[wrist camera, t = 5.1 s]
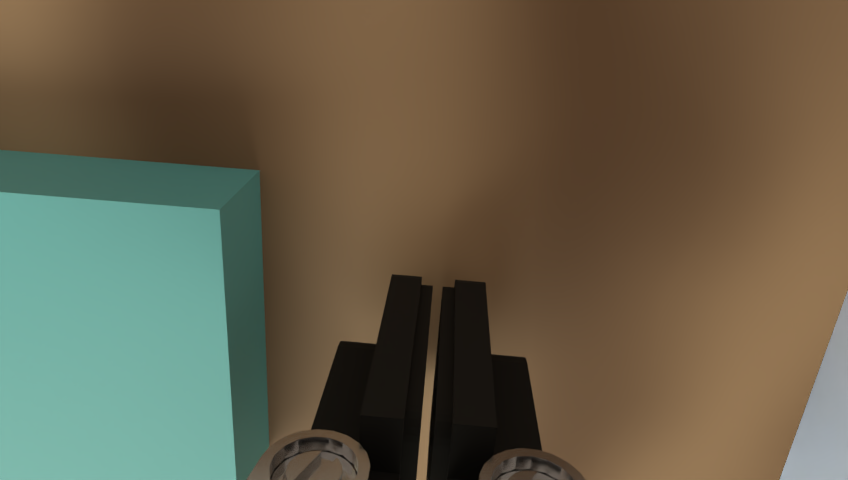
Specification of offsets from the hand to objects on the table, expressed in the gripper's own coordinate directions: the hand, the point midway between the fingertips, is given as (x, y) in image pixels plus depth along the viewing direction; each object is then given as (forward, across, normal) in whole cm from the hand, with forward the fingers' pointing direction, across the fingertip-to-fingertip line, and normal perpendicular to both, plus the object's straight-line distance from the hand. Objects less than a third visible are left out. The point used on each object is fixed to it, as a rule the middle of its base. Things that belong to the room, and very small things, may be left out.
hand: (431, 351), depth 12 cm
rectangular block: (+1, +8, 0) cm, 8 cm away
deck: (+5, +4, 0) cm, 6 cm away
